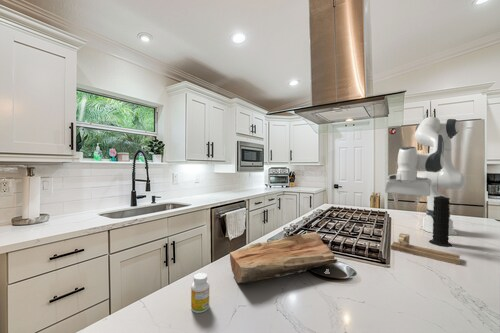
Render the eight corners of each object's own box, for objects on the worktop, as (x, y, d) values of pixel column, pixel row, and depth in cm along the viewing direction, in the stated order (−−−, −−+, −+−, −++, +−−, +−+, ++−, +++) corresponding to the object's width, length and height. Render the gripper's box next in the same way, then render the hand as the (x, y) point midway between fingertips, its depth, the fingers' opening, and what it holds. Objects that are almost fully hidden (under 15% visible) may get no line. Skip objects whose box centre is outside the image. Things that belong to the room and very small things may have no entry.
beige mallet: (400, 243, 126) (400, 232, 126) (409, 245, 123) (409, 234, 123) (395, 249, 117) (396, 238, 117) (405, 251, 115) (405, 240, 114)
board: (394, 245, 124) (394, 241, 124) (459, 259, 106) (459, 255, 106) (390, 249, 118) (390, 245, 118) (459, 265, 100) (459, 260, 100)
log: (319, 256, 107) (313, 224, 107) (346, 269, 90) (340, 232, 90) (232, 287, 93) (226, 250, 93) (246, 310, 76) (238, 265, 76)
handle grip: (457, 247, 121) (443, 240, 131) (458, 197, 121) (444, 194, 131) (437, 246, 122) (424, 240, 132) (438, 197, 122) (425, 194, 132)
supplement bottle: (192, 302, 72) (192, 271, 72) (210, 301, 72) (210, 271, 72) (189, 313, 67) (189, 280, 66) (208, 313, 67) (208, 280, 67)
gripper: (432, 177, 118) (431, 204, 118) (386, 175, 132) (386, 199, 132) (430, 178, 113) (430, 206, 113) (384, 176, 127) (383, 201, 127)
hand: (406, 202), depth 123 cm, fingers open, 8 cm apart
